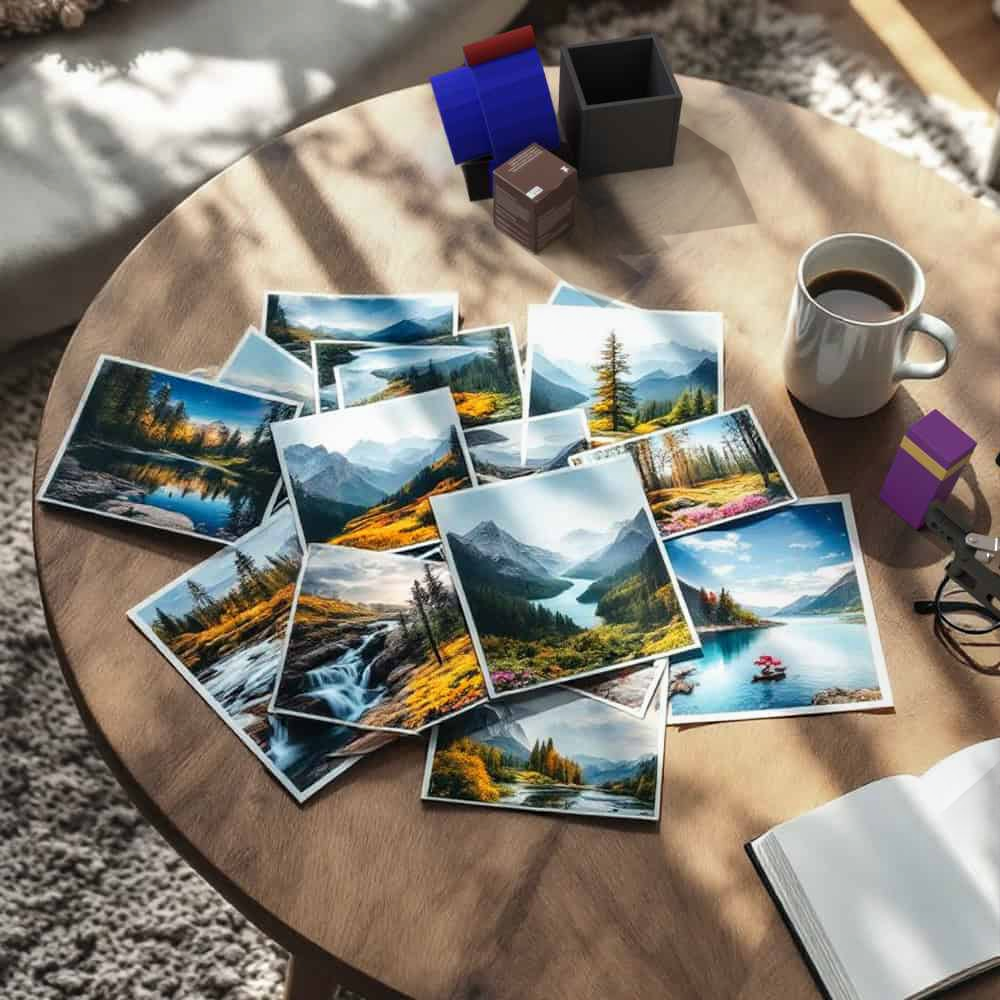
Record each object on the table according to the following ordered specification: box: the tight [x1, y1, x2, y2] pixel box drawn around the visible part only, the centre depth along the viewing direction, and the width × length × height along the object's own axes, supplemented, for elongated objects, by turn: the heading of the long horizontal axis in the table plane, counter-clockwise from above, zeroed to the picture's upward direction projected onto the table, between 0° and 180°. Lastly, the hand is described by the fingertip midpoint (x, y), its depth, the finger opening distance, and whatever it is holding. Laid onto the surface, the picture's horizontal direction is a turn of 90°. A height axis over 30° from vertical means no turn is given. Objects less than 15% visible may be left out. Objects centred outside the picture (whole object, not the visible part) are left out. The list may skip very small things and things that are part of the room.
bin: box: [557, 33, 684, 179], centre depth 129 cm, size 10×10×9 cm
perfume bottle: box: [877, 408, 978, 531], centre depth 103 cm, size 3×4×10 cm
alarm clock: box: [429, 24, 561, 202], centre depth 125 cm, size 12×12×15 cm
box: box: [492, 142, 578, 255], centre depth 123 cm, size 6×6×7 cm
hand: (965, 479), depth 99 cm, fingers open, 8 cm apart
